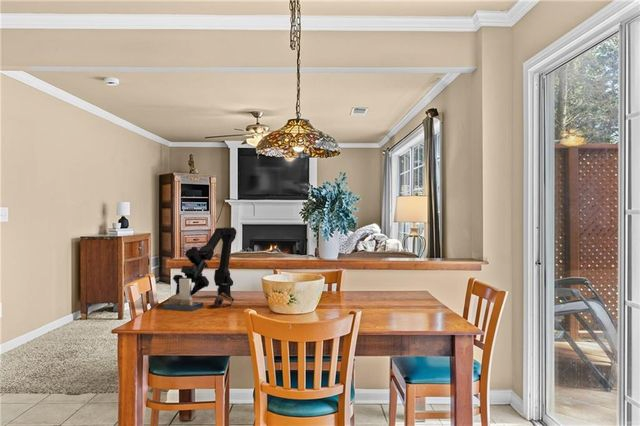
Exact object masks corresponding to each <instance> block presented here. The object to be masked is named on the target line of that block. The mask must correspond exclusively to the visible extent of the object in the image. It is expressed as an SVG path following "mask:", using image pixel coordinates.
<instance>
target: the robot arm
mask: <svg viewBox="0 0 640 426" xmlns="http://www.w3.org/2000/svg"><path fill="white" fill-rule="evenodd" d="M236 237H237V230H236V228H235V227H233V226H231V227H229V226H228V227H227V226H226V227H225V226H224V227H216V228H215V229H214V232H213V233H212V234H211V237H209V239H208V241H207V243H206V244H205V245H203V246H201V247H200V248H199V249H197V247H196V246H191V248H189V249H187V250H186V251H185V254H184V255H185V257H186V259H188V261H189V263H190V264H192V265H182V266H181V270H180V273H183V274H184V276H185V277H184V276H183V275H182V274H175V275H173V277H172V280H173V281H174V283H175V284H176V288H175V295H178V294H180V293H179V279H191V284H192V283H194V284H193V287H192V288H191V293H190V295H191V296H194V295H195V294H196V293H197V292H199V291H200V290H202V289H204V288H208V287H209V285H210V281H209V279H208V278H207V276H206V275H203V271H204V269H205V268H209V266H208V265H209V264H208V262H206V261H211V260H212V259H213V256H214V255H215V249H216V247H217V245H218V244H219V242H220V241H222V246H221V254H220V260H219V267H218V268H217V269H215V270H214V274H213V275H214V276H213V280H214V285H215V286H216V287H217V288H216V290H217V293H216V295H217V296H219V295H221V294H222V293H225V294H227V295H229V296H231V297H232V295H231V287H233V285H234V280H233V279H232V277H231V272H230V270H229V263H230V257H231V250H232V249H231V248H232V245H233V244H232V243H234V241H235V240H236ZM217 296H216V297H217Z"/></svg>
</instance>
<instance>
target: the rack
mask: <svg viewBox="0 0 640 426" xmlns="http://www.w3.org/2000/svg"><path fill="white" fill-rule="evenodd" d="M204 308H205V306H204V301H192V305H182V304H169V301H167V302H164V303H162V310H164V311H165V310H166V311H177V312H178V311H180V312H181V311H182V312H195V311H197V310H201V309H204Z"/></svg>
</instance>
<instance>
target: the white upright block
mask: <svg viewBox="0 0 640 426" xmlns="http://www.w3.org/2000/svg"><path fill="white" fill-rule="evenodd" d="M191 291H192V283H191V279H179V293H178V294H179V298H181V299H182V298H186V299H192V300H193V298H192V296H193V295H192V296H191V295H190V293H191Z"/></svg>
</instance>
